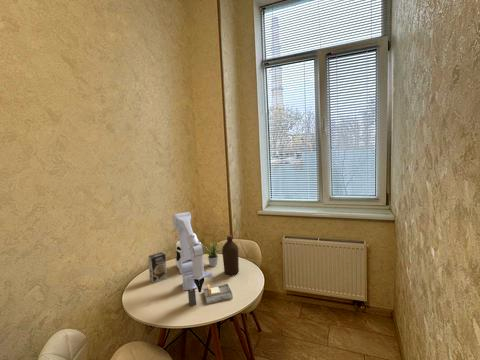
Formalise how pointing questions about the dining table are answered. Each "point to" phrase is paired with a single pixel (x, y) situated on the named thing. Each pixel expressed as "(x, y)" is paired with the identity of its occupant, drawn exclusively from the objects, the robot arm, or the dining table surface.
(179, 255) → the milk container
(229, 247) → the olive oil
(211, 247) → the house plant
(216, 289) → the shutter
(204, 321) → the dining table surface
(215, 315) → the dining table surface
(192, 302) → the plug
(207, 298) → the socket
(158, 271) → the coffee box
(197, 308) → the dining table surface
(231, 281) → the dining table surface
